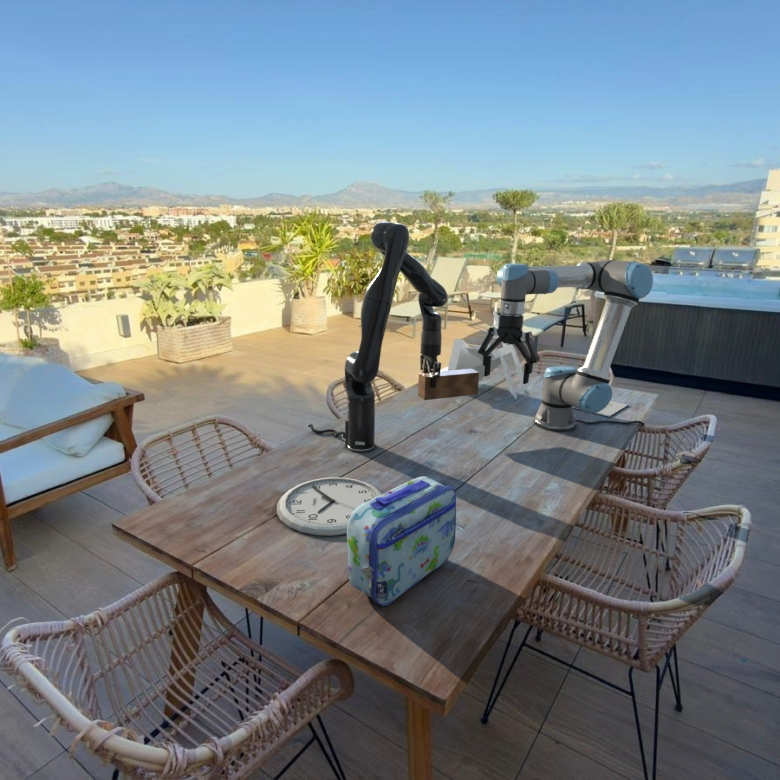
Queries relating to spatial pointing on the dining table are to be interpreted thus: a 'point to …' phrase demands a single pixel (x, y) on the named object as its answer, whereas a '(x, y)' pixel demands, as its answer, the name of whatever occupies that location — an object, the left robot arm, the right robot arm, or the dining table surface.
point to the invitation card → (611, 408)
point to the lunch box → (400, 538)
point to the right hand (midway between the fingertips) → (505, 379)
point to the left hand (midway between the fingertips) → (429, 385)
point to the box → (449, 384)
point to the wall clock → (324, 504)
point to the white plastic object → (473, 360)
